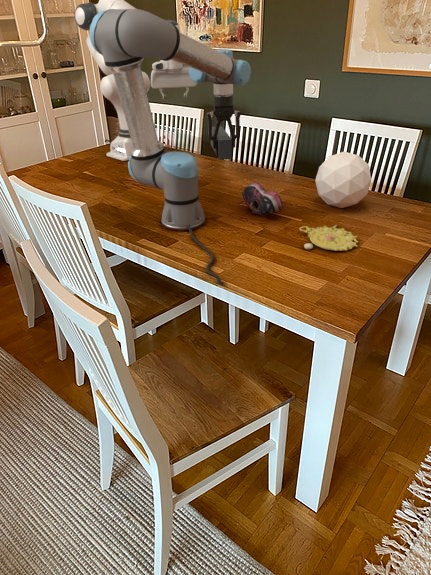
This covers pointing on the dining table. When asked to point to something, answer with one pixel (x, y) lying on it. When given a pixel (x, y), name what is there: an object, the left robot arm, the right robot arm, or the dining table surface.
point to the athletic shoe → (261, 200)
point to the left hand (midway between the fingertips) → (174, 98)
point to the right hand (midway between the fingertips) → (224, 155)
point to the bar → (223, 144)
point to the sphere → (343, 179)
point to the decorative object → (330, 238)
